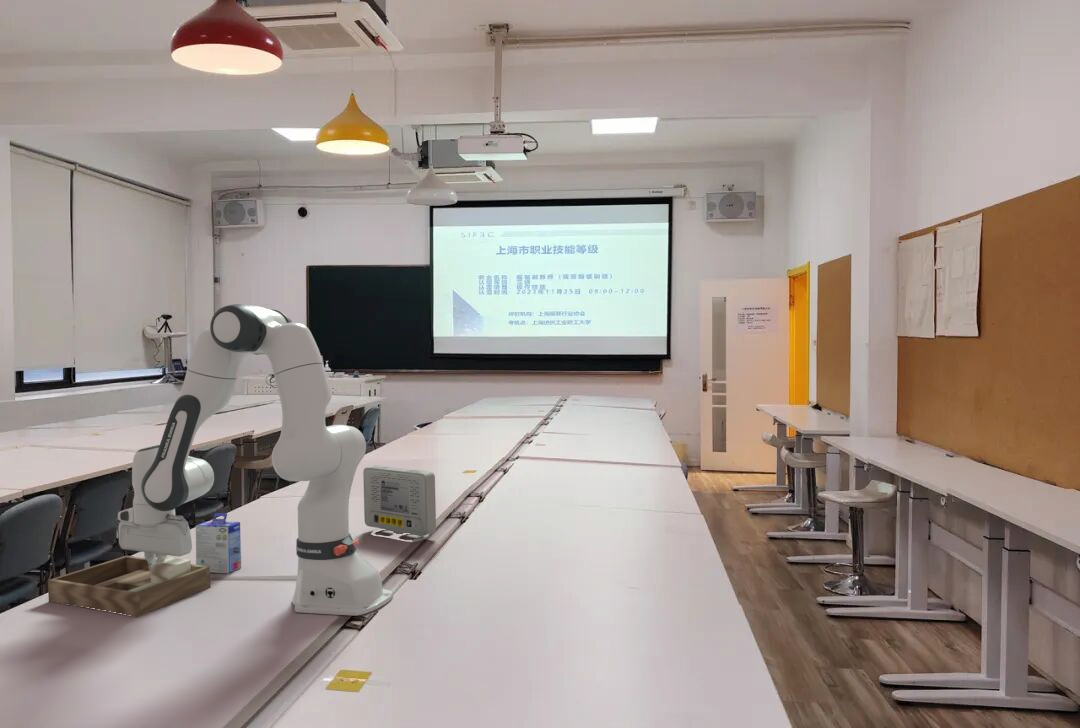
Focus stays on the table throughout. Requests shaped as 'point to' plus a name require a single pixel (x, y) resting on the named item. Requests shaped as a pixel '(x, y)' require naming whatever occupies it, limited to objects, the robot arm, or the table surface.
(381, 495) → the network device
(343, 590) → the robot arm
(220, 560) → the ink cartridge box
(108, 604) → the box
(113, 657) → the table surface
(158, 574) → the block
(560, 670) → the table surface
